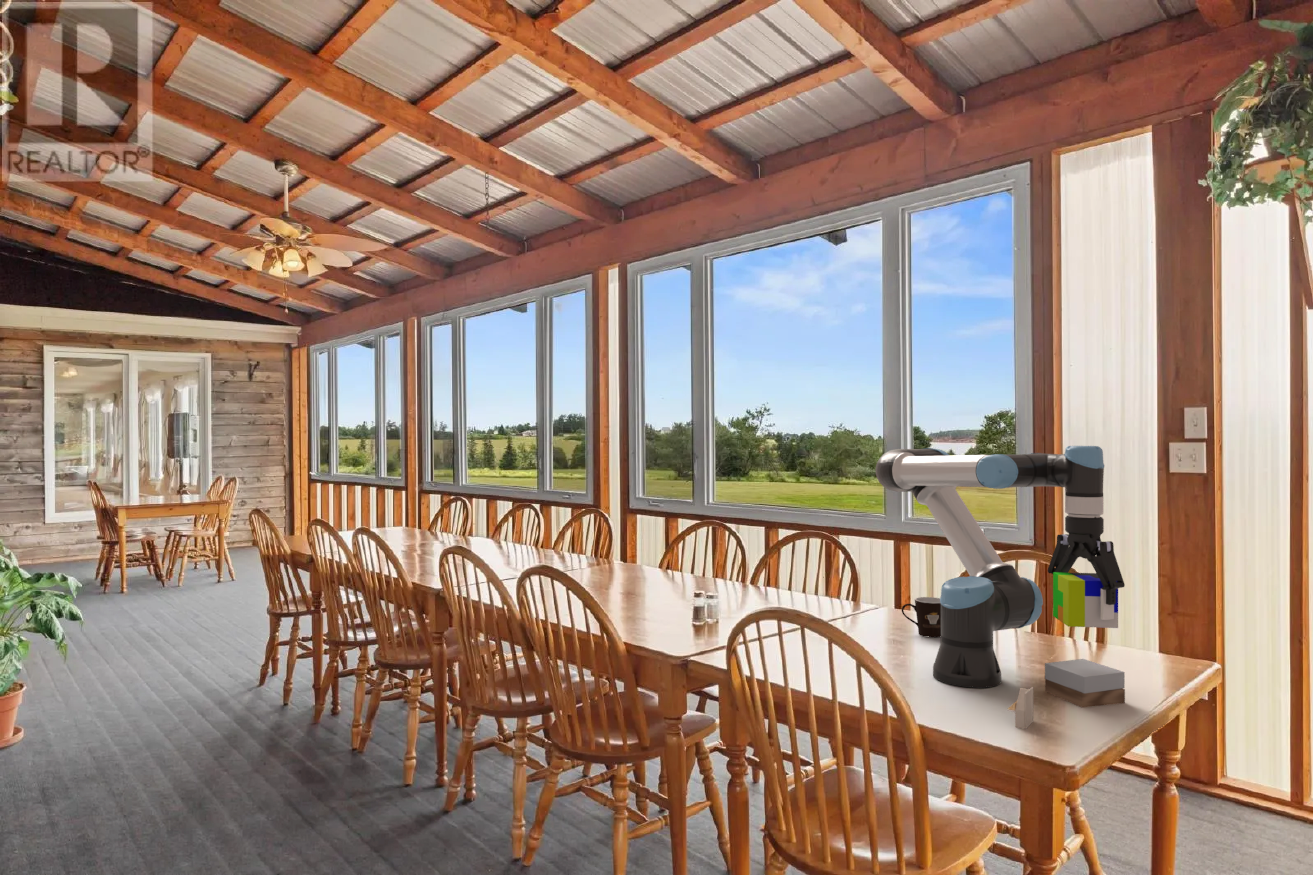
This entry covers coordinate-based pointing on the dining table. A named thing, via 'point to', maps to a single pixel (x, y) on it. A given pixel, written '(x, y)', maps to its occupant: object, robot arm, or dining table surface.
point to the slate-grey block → (1084, 675)
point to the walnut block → (1085, 695)
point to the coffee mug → (927, 616)
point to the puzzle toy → (1080, 600)
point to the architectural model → (1023, 708)
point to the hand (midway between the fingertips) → (1084, 612)
